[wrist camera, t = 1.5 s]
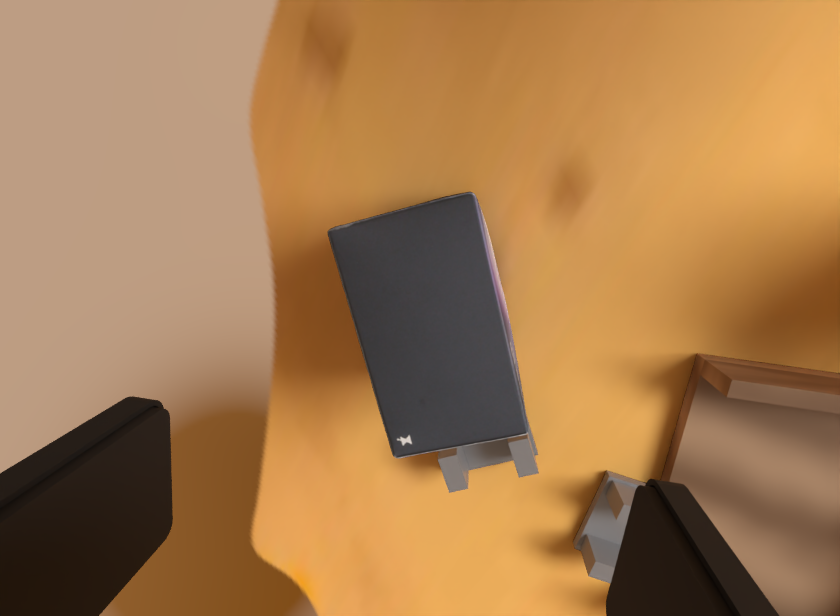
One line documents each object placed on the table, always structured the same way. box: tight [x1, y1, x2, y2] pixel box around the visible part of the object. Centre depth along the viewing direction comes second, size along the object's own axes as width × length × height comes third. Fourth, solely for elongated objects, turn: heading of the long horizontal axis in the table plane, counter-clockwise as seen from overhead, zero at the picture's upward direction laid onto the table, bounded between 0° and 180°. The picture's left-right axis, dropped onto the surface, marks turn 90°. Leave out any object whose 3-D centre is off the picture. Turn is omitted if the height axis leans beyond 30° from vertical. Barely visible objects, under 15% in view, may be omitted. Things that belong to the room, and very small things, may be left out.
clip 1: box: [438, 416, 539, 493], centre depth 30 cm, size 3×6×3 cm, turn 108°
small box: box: [328, 192, 528, 458], centre depth 24 cm, size 11×6×10 cm, turn 15°
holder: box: [661, 354, 840, 616], centre depth 28 cm, size 18×15×4 cm
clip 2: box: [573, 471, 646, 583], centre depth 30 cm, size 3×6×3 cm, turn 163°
